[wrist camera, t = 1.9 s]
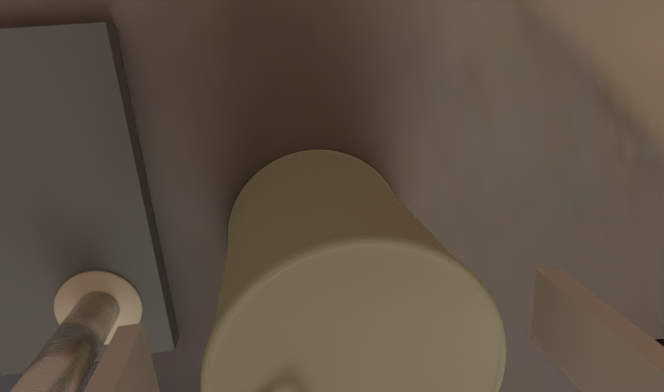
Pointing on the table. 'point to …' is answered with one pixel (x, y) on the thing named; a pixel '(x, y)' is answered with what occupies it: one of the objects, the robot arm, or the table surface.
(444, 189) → the table surface
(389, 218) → the can
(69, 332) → the pins
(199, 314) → the table surface
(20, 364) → the board
